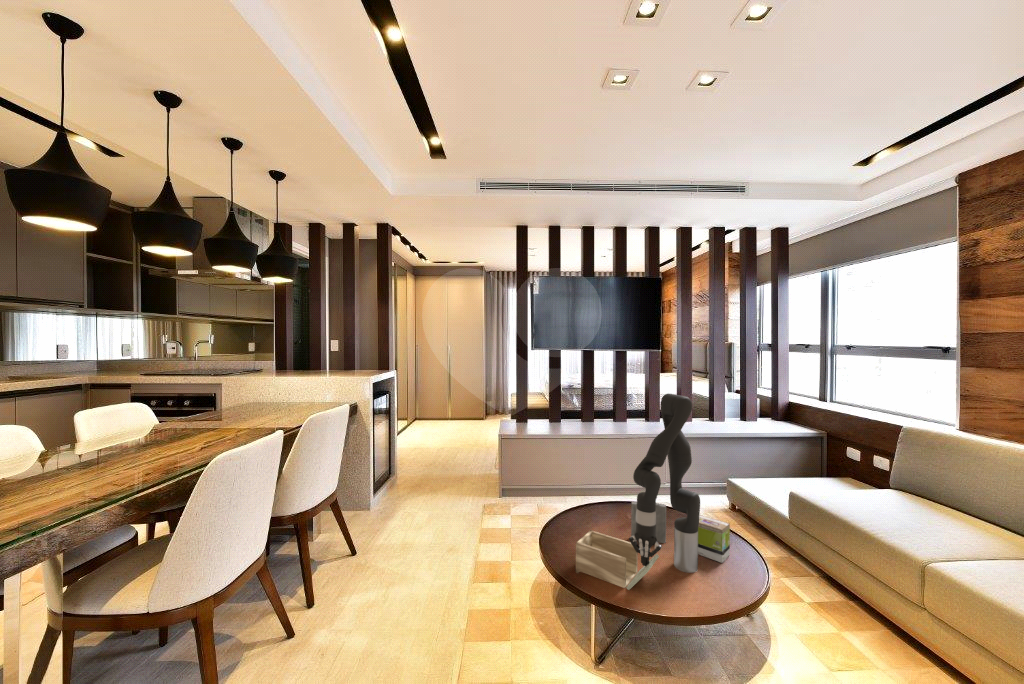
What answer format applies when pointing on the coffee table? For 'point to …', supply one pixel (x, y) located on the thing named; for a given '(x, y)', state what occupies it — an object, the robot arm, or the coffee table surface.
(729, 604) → the coffee table surface
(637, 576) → the flat panel
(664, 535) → the hip flask
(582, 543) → the box
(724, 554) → the tea box
